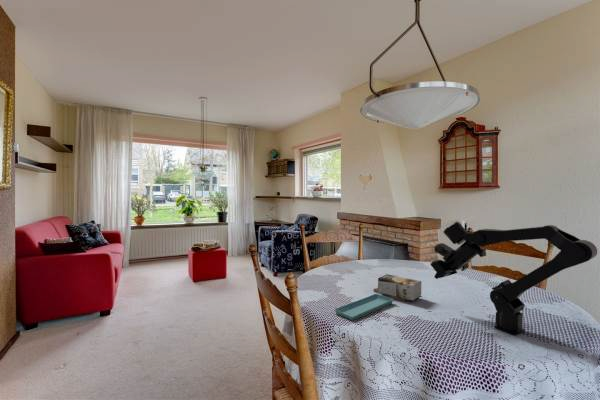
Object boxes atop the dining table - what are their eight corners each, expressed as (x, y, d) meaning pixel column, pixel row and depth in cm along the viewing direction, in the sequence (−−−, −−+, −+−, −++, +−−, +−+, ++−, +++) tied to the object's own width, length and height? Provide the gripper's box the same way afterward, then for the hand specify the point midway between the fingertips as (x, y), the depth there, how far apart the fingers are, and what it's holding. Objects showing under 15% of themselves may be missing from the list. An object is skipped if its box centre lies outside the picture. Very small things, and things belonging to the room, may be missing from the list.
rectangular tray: (352, 322, 104) (352, 315, 104) (333, 314, 111) (333, 308, 111) (394, 305, 121) (394, 299, 121) (375, 299, 128) (375, 293, 128)
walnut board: (420, 295, 130) (420, 292, 130) (404, 301, 123) (404, 298, 123) (389, 286, 143) (389, 284, 143) (373, 291, 136) (373, 288, 136)
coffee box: (413, 285, 120) (377, 277, 131) (413, 300, 121) (377, 292, 131) (421, 280, 127) (386, 273, 138) (421, 295, 127) (386, 287, 138)
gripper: (460, 235, 119) (434, 258, 128) (435, 239, 108) (408, 264, 117) (481, 257, 113) (452, 280, 122) (457, 264, 102) (427, 288, 111)
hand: (435, 277), depth 118 cm, fingers closed
